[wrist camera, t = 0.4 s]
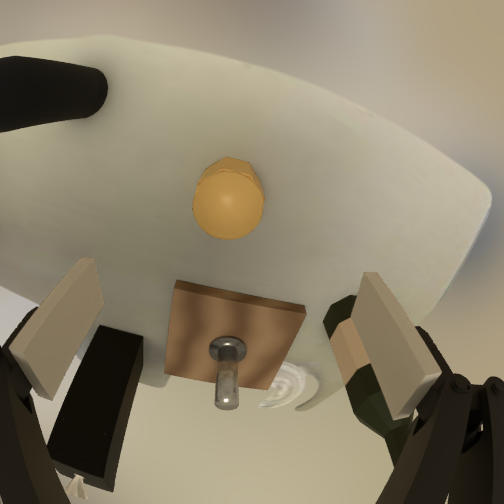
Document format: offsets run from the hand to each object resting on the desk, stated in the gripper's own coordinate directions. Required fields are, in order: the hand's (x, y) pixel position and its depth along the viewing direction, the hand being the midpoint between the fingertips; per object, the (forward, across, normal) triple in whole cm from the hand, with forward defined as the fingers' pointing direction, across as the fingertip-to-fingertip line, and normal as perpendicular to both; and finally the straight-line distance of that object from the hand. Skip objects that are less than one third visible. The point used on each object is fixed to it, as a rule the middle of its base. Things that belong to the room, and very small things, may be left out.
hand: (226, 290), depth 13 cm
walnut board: (+21, 0, -24) cm, 32 cm away
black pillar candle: (+21, -18, -27) cm, 39 cm away
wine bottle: (+21, -19, +12) cm, 30 cm away
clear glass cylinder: (+19, 0, -24) cm, 31 cm away
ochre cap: (+21, -1, 0) cm, 21 cm away
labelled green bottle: (+22, +18, -19) cm, 34 cm away
